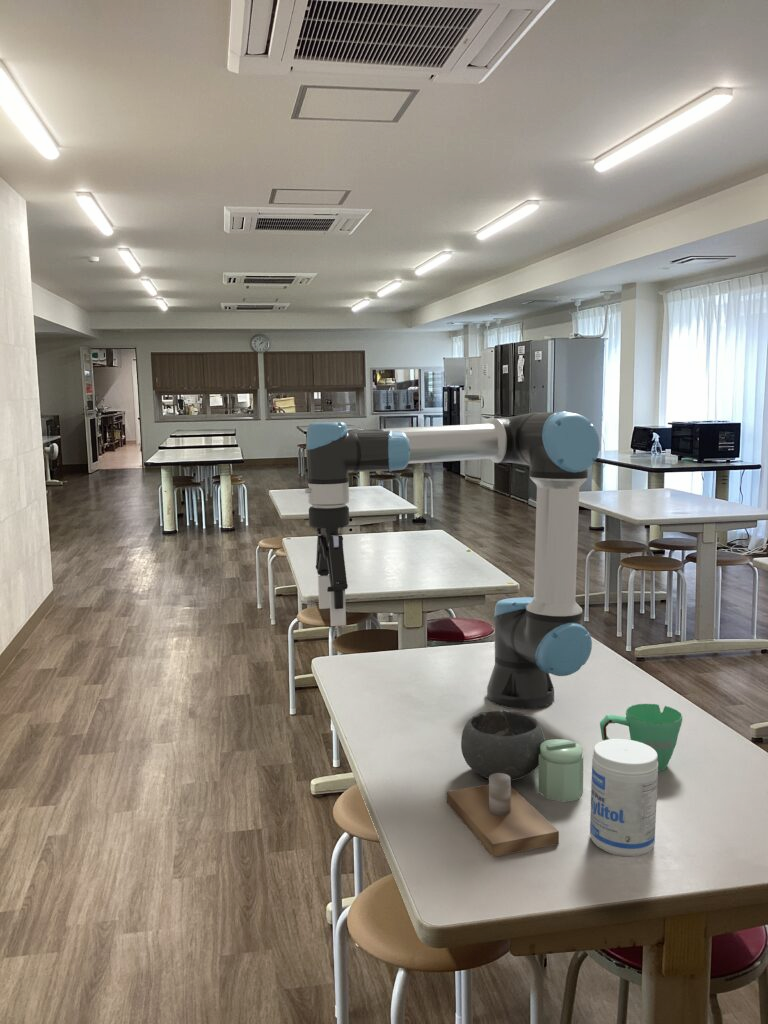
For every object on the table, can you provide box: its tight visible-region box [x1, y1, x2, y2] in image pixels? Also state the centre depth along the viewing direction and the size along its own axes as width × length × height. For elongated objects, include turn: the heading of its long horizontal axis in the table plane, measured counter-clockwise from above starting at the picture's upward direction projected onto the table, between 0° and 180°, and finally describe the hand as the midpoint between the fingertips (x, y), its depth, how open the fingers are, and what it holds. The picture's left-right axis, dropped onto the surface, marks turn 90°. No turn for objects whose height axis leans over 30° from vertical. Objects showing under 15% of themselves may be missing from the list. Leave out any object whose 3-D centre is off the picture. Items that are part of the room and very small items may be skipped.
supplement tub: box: [589, 738, 659, 857], centre depth 125 cm, size 10×10×15 cm
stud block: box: [446, 773, 560, 858], centre depth 133 cm, size 11×18×8 cm, turn 18°
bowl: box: [460, 710, 545, 781], centre depth 149 cm, size 15×15×10 cm
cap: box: [538, 738, 584, 803], centre depth 143 cm, size 7×7×9 cm
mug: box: [599, 703, 683, 772], centre depth 152 cm, size 15×10×10 cm
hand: (331, 616), depth 157 cm, fingers open, 13 cm apart
